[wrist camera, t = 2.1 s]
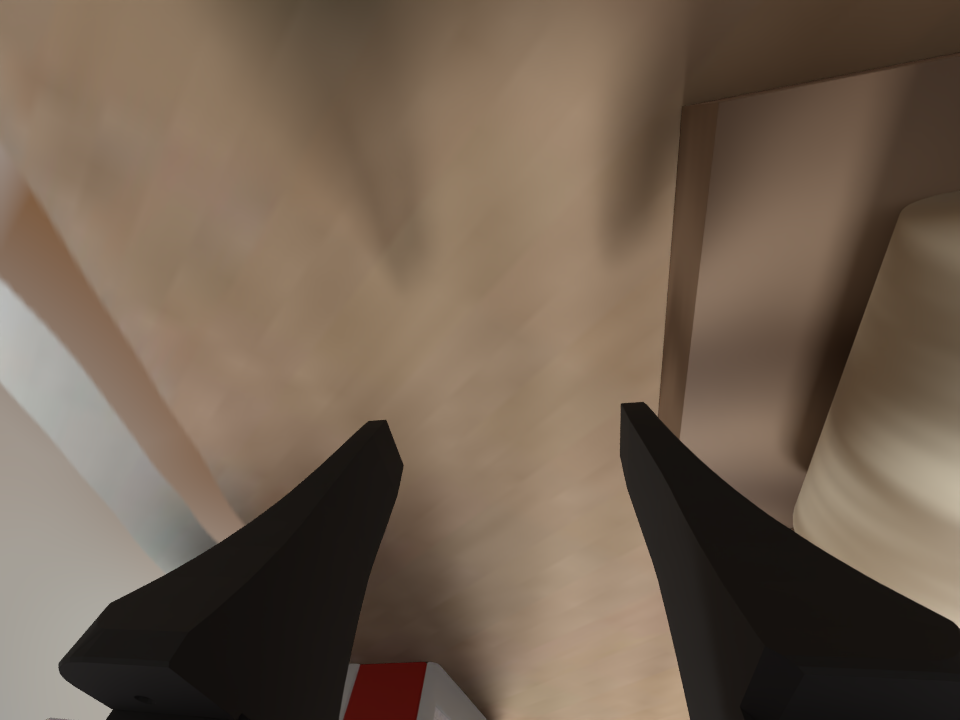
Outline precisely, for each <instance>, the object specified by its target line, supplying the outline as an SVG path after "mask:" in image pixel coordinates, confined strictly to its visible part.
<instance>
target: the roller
mask: <svg viewBox="0 0 960 720" xmlns="http://www.w3.org/2000/svg"><path fill="white" fill-rule="evenodd" d="M793 526H794V531H795V532H796V533H797V534H799V535H800V536H802V537H803V538H805V539H806V540H808V541H809V542H811V543H813V544H814V545H816V546H817V547H819V548H821V549H822V550H824V551H825V552H827V553H829V554H830V555H832V556H834V557H835V558H837V559H839V560H841V561H842V562H844V563H846V564H847V565H849V566H851V567H853V568H854V569H856V570H858V571H859V572H861V573H863V574H865V575H866V576H868V577H870V578H872V579H873V580H875V581H877V582H879V583H881V584H883V585H885V586H886V587H888V588H890V589H892V590H894V591H896V592H898V593H900V594H902V595H904V596H905V597H907V598H909V599H911V600H913V601H915V602H917V603H919V604H921V605H923V606H925V607H926V608H928V609H930V610H932V611H934V612H936V613H938V614H940V615H942V616H944V617H945V618H947V619H949V620H951V621H953V622H954V623H955V624H956V625H957V626H958V627H959V628H960V191H955V192H950V193H945V194H940V195H936V196H932V197H928V198H925V199H922V200H919V201H916V202H914V203H912V204H910V205H908V206H906V207H905V208H904V209H902V211H901V213H900V215H899V217H898V220H897V223H896V226H895V229H894V231H893V234H892V237H891V240H890V243H889V245H888V248H887V251H886V254H885V256H884V259H883V262H882V265H881V268H880V270H879V273H878V276H877V279H876V282H875V284H874V287H873V290H872V293H871V295H870V298H869V301H868V304H867V307H866V309H865V312H864V315H863V318H862V321H861V323H860V326H859V329H858V332H857V335H856V337H855V340H854V343H853V346H852V348H851V351H850V354H849V357H848V360H847V362H846V365H845V368H844V371H843V374H842V376H841V379H840V382H839V385H838V387H837V390H836V393H835V396H834V399H833V401H832V404H831V407H830V410H829V413H828V415H827V418H826V421H825V424H824V426H823V429H822V432H821V435H820V438H819V440H818V443H817V446H816V449H815V452H814V454H813V457H812V460H811V463H810V466H809V468H808V471H807V474H806V477H805V479H804V482H803V485H802V488H801V491H800V493H799V496H798V499H797V502H796V505H795V507H794V512H793Z"/></svg>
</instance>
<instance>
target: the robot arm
mask: <svg viewBox="0 0 960 720" xmlns="http://www.w3.org/2000/svg"><path fill="white" fill-rule="evenodd" d="M620 458H621V462H622V467H623V472H624V476H625V481H626V485H627V489H628V492H629V495H630V498H631V501H632V504H633V507H634V510H635V513H636V516H637V518H638V521H639V524H640V527H641V530H642V533H643V536H644V539H645V542H646V545H647V547H648V550H649V553H650V556H651V559H652V562H653V565H654V568H655V572H656V575H657V578H658V582H659V586H660V590H661V594H662V598H663V602H664V606H665V611H666V615H667V619H668V623H669V627H670V632H671V636H672V640H673V644H674V649H675V653H676V657H677V662H678V666H679V671H680V675H681V680H682V684H683V689H684V693H685V698H686V702H687V707H688V711H689V716H690V720H960V628H959V627H958V626H957V625H956V624H955V623H954V622H953V621H951V620H949V619H947V618H945V617H944V616H942V615H940V614H938V613H936V612H934V611H932V610H930V609H928V608H926V607H925V606H923V605H921V604H919V603H917V602H915V601H913V600H911V599H909V598H907V597H905V596H904V595H902V594H900V593H898V592H896V591H894V590H892V589H890V588H888V587H886V586H885V585H883V584H881V583H879V582H877V581H875V580H873V579H872V578H870V577H868V576H866V575H865V574H863V573H861V572H859V571H858V570H856V569H854V568H853V567H851V566H849V565H847V564H846V563H844V562H842V561H841V560H839V559H837V558H835V557H834V556H832V555H830V554H829V553H827V552H825V551H824V550H822V549H821V548H819V547H817V546H816V545H814V544H813V543H811V542H809V541H808V540H806V539H805V538H803V537H802V536H800V535H799V534H797V533H796V532H794V531H793V530H791V529H789V528H788V527H786V526H785V525H783V524H782V523H780V522H779V521H777V520H776V519H774V518H773V517H771V516H770V515H769V514H767V513H766V512H764V511H763V510H762V509H760V508H759V507H757V506H756V505H755V504H754V503H752V502H751V501H750V500H748V499H747V498H746V497H744V496H743V495H742V494H740V493H739V492H738V491H737V490H735V489H734V488H733V487H732V486H730V485H729V484H728V483H727V482H725V481H724V480H723V479H722V478H721V477H720V476H718V475H717V474H716V473H715V472H714V471H713V470H711V469H710V468H709V467H708V466H707V465H706V464H705V463H704V462H702V461H701V460H700V459H699V458H698V457H697V456H696V455H695V454H694V453H693V452H692V451H691V450H690V449H689V448H688V447H687V446H685V445H684V444H683V443H682V442H681V441H680V440H679V439H678V438H677V437H676V436H675V435H674V434H673V433H672V432H671V431H670V430H669V428H668V427H667V426H666V425H665V424H664V423H663V422H662V421H661V420H660V419H659V418H658V417H657V416H656V415H655V413H654V412H653V411H652V410H651V409H650V408H649V407H648V406H647V405H646V404H645V403H644V402H636V403H622V404H621V427H620ZM403 466H404V465H403V463H402V460H401V457H400V455H399V452H398V450H397V447H396V444H395V442H394V439H393V436H392V434H391V431H390V429H389V426H388V423H387V421H386V420H378V421H368V422H367V423H366V424H365V425H363V426H362V427H361V428H360V429H359V430H358V431H357V432H356V433H355V434H354V435H353V436H352V437H350V438H349V439H348V440H347V441H346V442H345V443H344V444H343V445H342V446H341V447H340V448H339V449H338V450H337V451H336V452H335V453H334V454H332V455H331V456H330V457H329V458H328V459H327V460H326V461H325V462H324V463H323V464H322V465H321V466H320V467H318V468H317V469H316V470H315V471H314V472H313V473H312V474H310V475H309V476H308V477H307V478H306V479H305V480H304V481H302V482H301V483H300V484H299V485H298V486H297V487H295V488H294V489H293V490H292V491H291V492H290V493H288V494H287V495H286V496H285V497H283V498H282V499H281V500H280V501H278V502H277V503H276V504H275V505H273V506H272V507H270V508H269V509H268V510H266V511H265V512H264V513H262V514H261V515H260V516H258V517H257V518H256V519H254V520H253V521H251V522H250V523H248V524H247V525H246V526H244V527H243V528H241V529H240V530H238V531H237V532H235V533H234V534H232V535H231V536H229V537H228V538H226V539H225V540H223V541H222V542H220V543H219V544H217V545H215V546H214V547H212V548H211V549H209V550H207V551H206V552H204V553H202V554H201V555H199V556H197V557H196V558H194V559H192V560H190V561H189V562H187V563H185V564H184V565H182V566H180V567H178V568H177V569H175V570H173V571H171V572H169V573H168V574H166V575H164V576H162V577H160V578H158V579H156V580H155V581H153V582H151V583H149V584H147V585H145V586H143V587H141V588H139V589H137V590H135V591H133V592H131V593H129V594H127V595H126V596H124V597H122V598H120V599H118V600H115V601H114V602H111V603H110V604H109V605H108V606H107V607H106V608H105V610H104V611H103V612H102V613H101V614H100V615H99V617H98V618H97V619H96V620H95V621H94V622H93V624H92V625H91V626H90V627H89V628H88V630H87V631H86V632H85V633H84V634H83V635H82V637H81V638H80V639H79V640H78V641H77V643H76V644H75V645H74V646H73V647H72V648H71V649H70V650H69V652H68V653H67V654H66V655H65V656H64V657H63V659H62V660H61V661H60V662H59V671H60V674H61V675H62V677H63V678H64V679H65V680H66V681H68V682H69V683H71V684H72V685H73V686H75V687H76V688H78V689H80V690H81V691H83V692H85V693H86V694H88V695H90V696H91V697H93V698H94V699H96V700H98V701H99V702H101V703H103V704H104V705H106V706H108V707H109V708H111V709H113V710H112V712H111V713H110V715H109V716H108V717H107V719H106V720H339V716H340V710H341V704H342V698H343V692H344V686H345V681H346V676H347V671H348V666H349V661H350V656H351V651H352V646H353V642H354V637H355V633H356V628H357V624H358V619H359V615H360V611H361V607H362V603H363V599H364V595H365V591H366V587H367V583H368V579H369V575H370V572H371V569H372V566H373V563H374V560H375V557H376V554H377V551H378V549H379V546H380V543H381V540H382V538H383V535H384V532H385V529H386V526H387V524H388V521H389V518H390V515H391V512H392V509H393V507H394V504H395V501H396V498H397V494H398V490H399V486H400V481H401V476H402V471H403ZM47 720H67V719H57V718H49V719H47Z"/></svg>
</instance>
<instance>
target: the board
mask: <svg viewBox="0 0 960 720" xmlns="http://www.w3.org/2000/svg"><path fill="white" fill-rule="evenodd" d="M955 191H960V53H955V54H950V55H944V56H939V57H934V58H929V59H924V60H919V61H914V62H909V63H903V64H898V65H893V66H888V67H883V68H878V69H873V70H868V71H862V72H857V73H852V74H847V75H842V76H837V77H832V78H827V79H821V80H816V81H811V82H806V83H801V84H796V85H791V86H786V87H781V88H775V89H770V90H765V91H760V92H755V93H750V94H745V95H740V96H734V97H729V98H724V99H719V100H714V101H709V102H704V103H699V104H693V105H688V106H683V107H682V118H681V131H680V143H679V156H678V169H677V182H676V195H675V208H674V221H673V234H672V246H671V259H670V272H669V285H668V298H667V311H666V324H665V337H664V349H663V362H662V375H661V388H660V401H659V414H658V418H659V419H660V420H661V421H662V422H663V423H664V424H665V425H666V426H667V427H668V428H669V430H670V431H671V432H672V433H673V434H674V435H675V436H676V437H677V438H678V439H679V440H680V441H681V442H682V443H683V444H684V445H685V446H687V447H688V448H689V449H690V450H691V451H692V452H693V453H694V454H695V455H696V456H697V457H698V458H699V459H700V460H701V461H702V462H704V463H705V464H706V465H707V466H708V467H709V468H710V469H711V470H713V471H714V472H715V473H716V474H717V475H718V476H720V477H721V478H722V479H723V480H724V481H725V482H727V483H728V484H729V485H730V486H732V487H733V488H734V489H735V490H737V491H738V492H739V493H740V494H742V495H743V496H744V497H746V498H747V499H748V500H750V501H751V502H752V503H754V504H755V505H756V506H757V507H759V508H760V509H762V510H763V511H764V512H766V513H767V514H769V515H770V516H771V517H773V518H774V519H776V520H777V521H779V522H780V523H782V524H783V525H785V526H786V527H788V528H794V526H793V512H794V507H795V505H796V502H797V499H798V496H799V493H800V491H801V488H802V485H803V482H804V479H805V477H806V474H807V471H808V468H809V466H810V463H811V460H812V457H813V454H814V452H815V449H816V446H817V443H818V440H819V438H820V435H821V432H822V429H823V426H824V424H825V421H826V418H827V415H828V413H829V410H830V407H831V404H832V401H833V399H834V396H835V393H836V390H837V387H838V385H839V382H840V379H841V376H842V374H843V371H844V368H845V365H846V362H847V360H848V357H849V354H850V351H851V348H852V346H853V343H854V340H855V337H856V335H857V332H858V329H859V326H860V323H861V321H862V318H863V315H864V312H865V309H866V307H867V304H868V301H869V298H870V295H871V293H872V290H873V287H874V284H875V282H876V279H877V276H878V273H879V270H880V268H881V265H882V262H883V259H884V256H885V254H886V251H887V248H888V245H889V243H890V240H891V237H892V234H893V231H894V229H895V226H896V223H897V220H898V217H899V215H900V213H901V211H902V209H904V208H905V207H906V206H908V205H910V204H912V203H914V202H916V201H919V200H922V199H925V198H928V197H932V196H936V195H940V194H945V193H950V192H955Z"/></svg>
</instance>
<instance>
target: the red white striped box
mask: <svg viewBox="0 0 960 720" xmlns="http://www.w3.org/2000/svg"><path fill="white" fill-rule="evenodd" d="M339 720H487V719H486V718H485V717H484V716H483V714H482V713H481V712H480V711H479V710H478V709H477V707H476V706H475V705H474V704H473V703H472V702H471V701H470V699H469V698H468V697H467V696H466V695H465V694H464V692H463V691H462V690H461V689H460V688H459V687H458V686H457V684H456V683H455V682H454V681H453V680H452V679H451V677H450V676H449V675H448V674H447V673H446V672H445V671H444V669H443V668H442V667H441V666H440V665H439V664H437V663H434V662H428V663H426V662H409V663H385V664H361V665H360V664H349V666H348V671H347V676H346V681H345V686H344V692H343V698H342V704H341V710H340V716H339Z"/></svg>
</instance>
